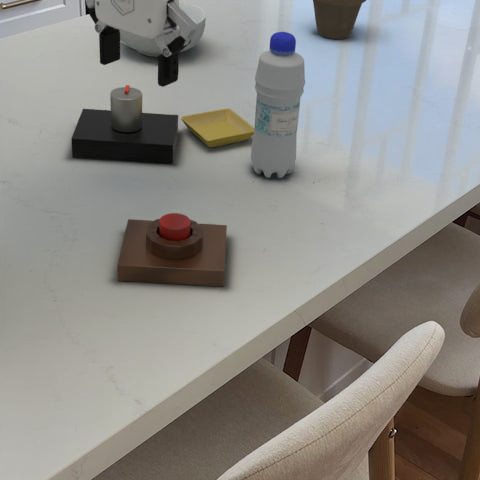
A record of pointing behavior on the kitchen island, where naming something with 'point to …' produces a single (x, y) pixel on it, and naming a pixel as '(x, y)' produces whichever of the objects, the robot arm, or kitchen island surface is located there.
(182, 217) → the button
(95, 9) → the robot arm
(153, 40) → the cereal bowl
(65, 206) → the kitchen island surface
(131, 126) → the dial knob
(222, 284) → the button block
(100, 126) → the black knob base
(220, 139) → the saucer
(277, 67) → the bottle
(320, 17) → the flower pot
